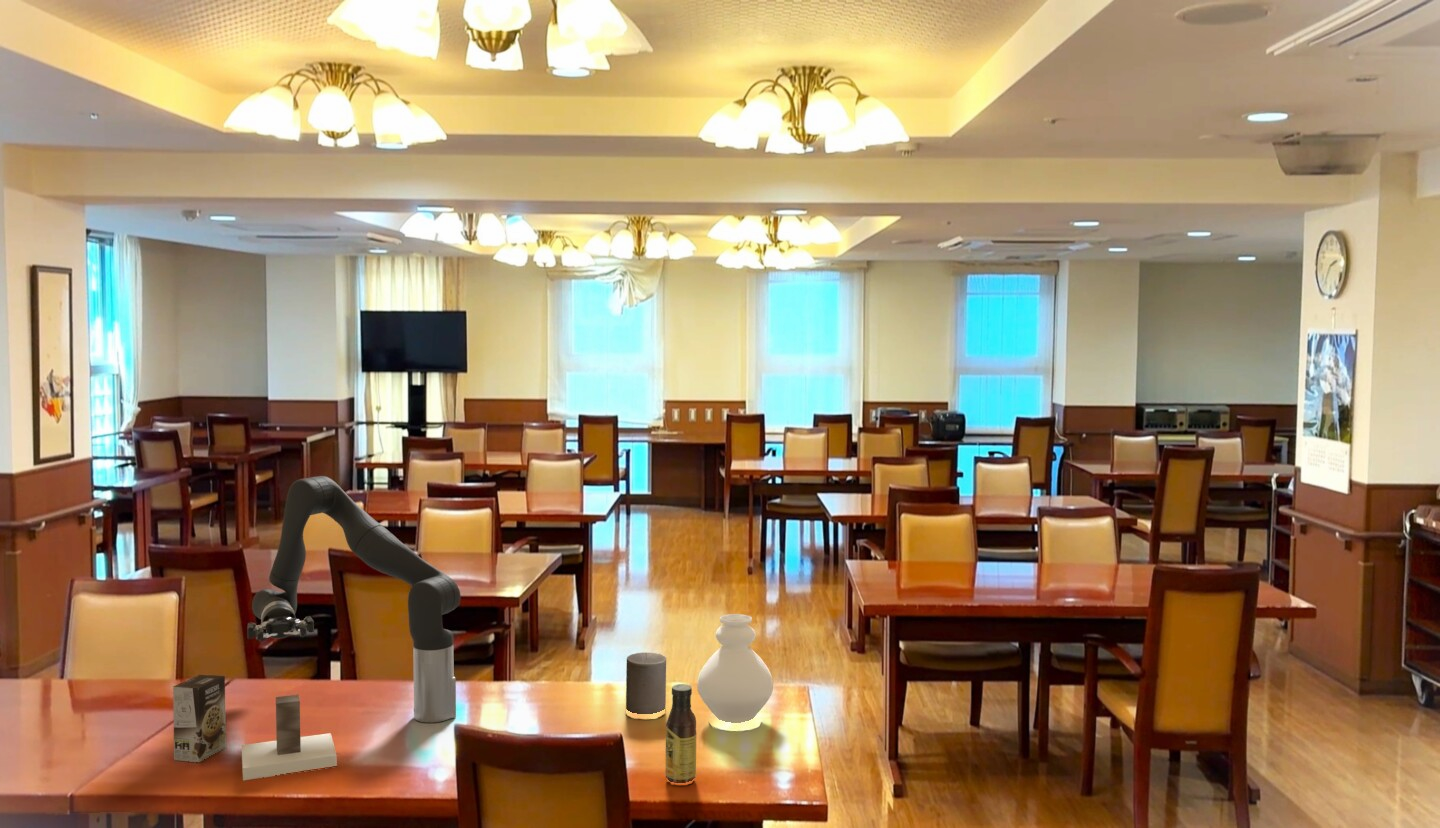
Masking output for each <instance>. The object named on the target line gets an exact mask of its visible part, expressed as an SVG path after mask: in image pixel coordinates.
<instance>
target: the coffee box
mask: <svg viewBox="0 0 1440 828" xmlns="http://www.w3.org/2000/svg"><path fill="white" fill-rule="evenodd" d="M225 677H226V676H224V675H216V674H215V675H214V674H213V675H211V674H198V675H197V676H194V677H193V678H189V679H187V680H185V681H183V682H181V683H178V684H175V685H174V686H172V690H173V691H172V694H173V695H172V697H173V699H172V700H173V702H172V703H173V704H172V705H173V707H172V708H173V713H172V714H173V717H172V718H173V760H174V761H181V762H188V761H189V762H188V763H196V762H198V763H201V762H203V761H205V760H206V759H208V758H210V757H212V756H213V754H214V755H216V754H218V753H219V752H221V751H222V749H223V750H225V749H226V748H227V731H226V729H227V726H226V725H227V724H226V722H227V721H226V717H227V716H226V678H225ZM224 748H225V749H224ZM215 753H216V754H215ZM211 755H212V756H211ZM209 756H210V757H209ZM204 759H205V760H204Z"/></svg>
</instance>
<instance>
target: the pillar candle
mask: <svg viewBox="0 0 1440 828" xmlns="http://www.w3.org/2000/svg"><path fill="white" fill-rule="evenodd" d="M625 671H626V672H625V673H626V674H625V675H626V680H625V681H626V683H625V684H626V685H625V687H626V691H625V698H626V699H625V710H626V709H627V710H628V711H630V712H632V713H637V714H653V713H657V712H660V711H662V710H664V709H665V710H666V706H667V705H666V701H667V699H666V697H667V657H666V656H665V655H664V654H661V653H657V652H636V653H632V654H630V655H628V656H627V657H626V670H625Z"/></svg>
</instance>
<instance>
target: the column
mask: <svg viewBox="0 0 1440 828" xmlns="http://www.w3.org/2000/svg"><path fill="white" fill-rule="evenodd" d="M300 701H301V700H300V696H299V694H291V695H282V696H275V721H276V723H275V727H276V728H275V729H276V730H275V731H276V732H275V733H276V737H275V738H276V740H277V755H283V754H290V753H298V752H301V744H300V737H301V705H300V704H301V703H300Z"/></svg>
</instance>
